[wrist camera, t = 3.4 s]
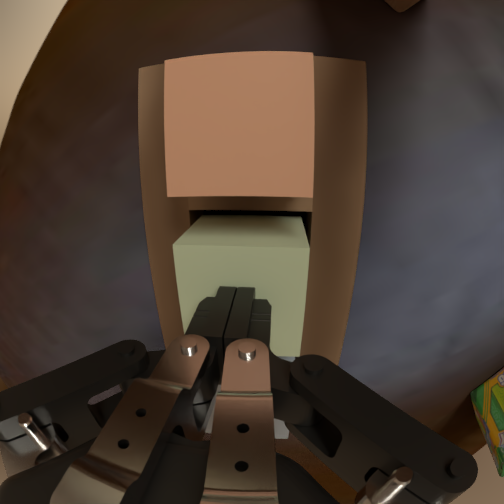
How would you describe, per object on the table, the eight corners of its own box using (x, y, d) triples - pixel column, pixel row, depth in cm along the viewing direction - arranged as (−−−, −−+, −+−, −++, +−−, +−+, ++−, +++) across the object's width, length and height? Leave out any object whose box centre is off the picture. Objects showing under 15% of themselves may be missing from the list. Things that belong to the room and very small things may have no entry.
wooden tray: (352, 73, 14) (365, 61, 12) (324, 377, 23) (328, 403, 20) (159, 77, 15) (138, 68, 13) (186, 369, 24) (177, 394, 21)
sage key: (301, 216, 16) (309, 248, 11) (295, 303, 18) (299, 356, 13) (202, 214, 16) (172, 244, 12) (208, 299, 18) (187, 349, 14)
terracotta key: (302, 80, 13) (313, 52, 8) (302, 180, 15) (312, 197, 10) (198, 83, 13) (164, 60, 9) (200, 180, 15) (167, 197, 11)
